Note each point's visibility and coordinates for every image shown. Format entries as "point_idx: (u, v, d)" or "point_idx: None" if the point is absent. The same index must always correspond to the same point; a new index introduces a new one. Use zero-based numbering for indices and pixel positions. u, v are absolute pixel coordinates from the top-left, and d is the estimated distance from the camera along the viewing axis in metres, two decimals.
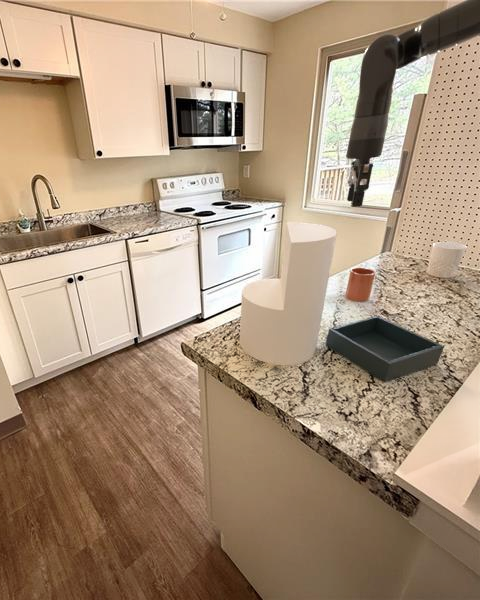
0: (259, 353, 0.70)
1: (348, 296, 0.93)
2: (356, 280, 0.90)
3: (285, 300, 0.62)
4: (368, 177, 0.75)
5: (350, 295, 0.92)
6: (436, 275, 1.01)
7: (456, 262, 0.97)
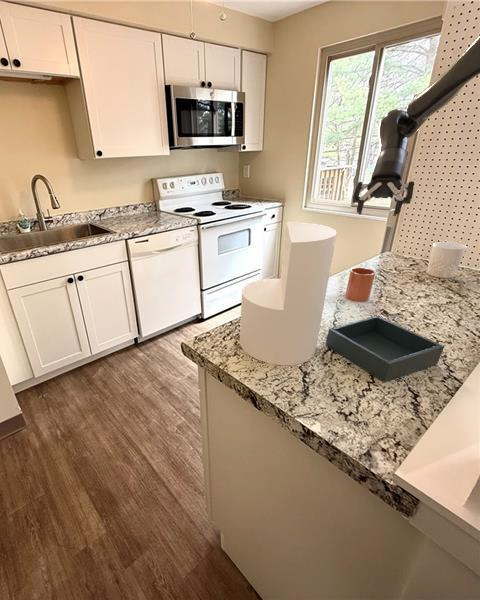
0: (259, 353, 0.70)
1: (348, 296, 0.93)
2: (356, 280, 0.90)
3: (285, 300, 0.62)
4: (355, 191, 0.96)
5: (350, 295, 0.92)
6: (436, 275, 1.01)
7: (456, 262, 0.97)
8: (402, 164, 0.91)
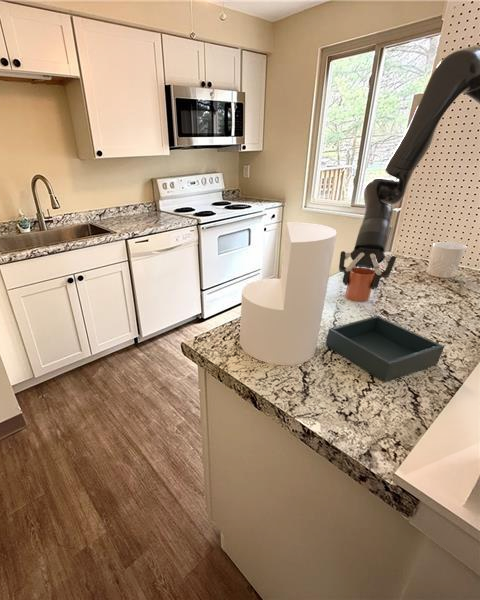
0: (259, 353, 0.70)
1: (348, 296, 0.93)
2: (356, 280, 0.90)
3: (285, 300, 0.62)
4: None
5: (350, 295, 0.92)
6: (436, 275, 1.01)
7: (456, 262, 0.97)
8: (385, 235, 0.90)
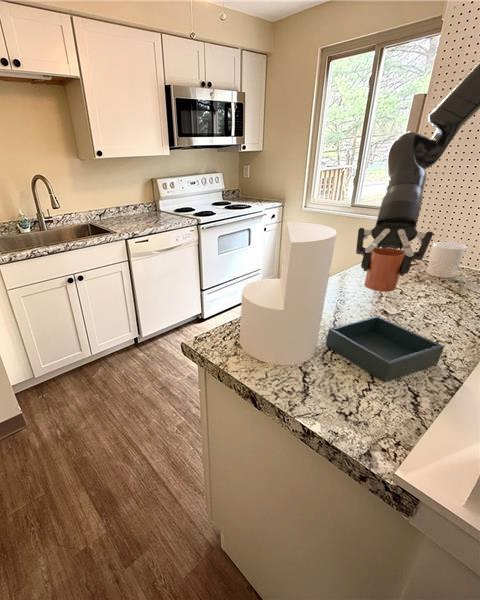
0: (259, 353, 0.70)
1: (368, 285, 0.73)
2: (380, 263, 0.69)
3: (285, 300, 0.62)
4: (357, 240, 0.75)
5: (371, 284, 0.72)
6: (436, 275, 1.01)
7: (456, 262, 0.97)
8: (418, 205, 0.70)
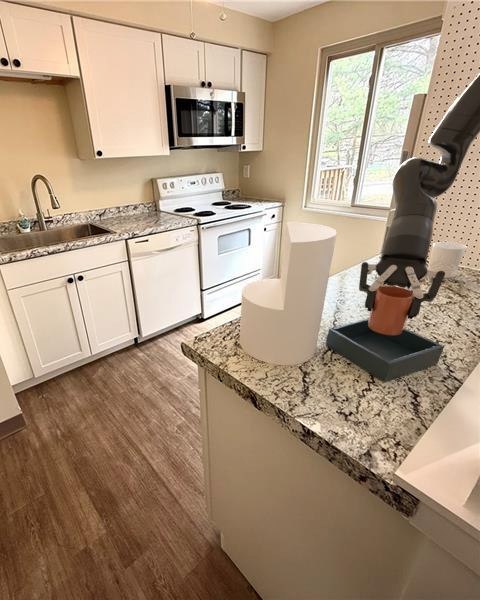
0: (259, 353, 0.70)
1: (372, 327, 0.66)
2: (386, 305, 0.62)
3: (285, 300, 0.62)
4: (360, 275, 0.68)
5: (376, 326, 0.65)
6: None
7: (456, 262, 0.97)
8: (428, 240, 0.63)
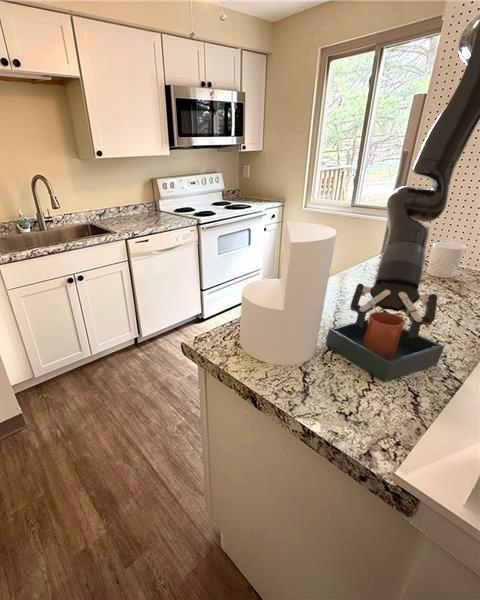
0: (259, 353, 0.70)
1: None
2: (378, 332, 0.65)
3: (285, 300, 0.62)
4: (353, 296, 0.70)
5: None
6: (436, 275, 1.01)
7: (456, 262, 0.97)
8: (420, 266, 0.65)
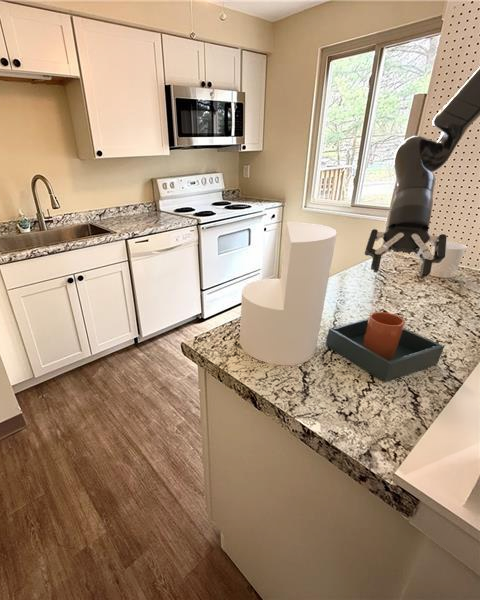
0: (259, 353, 0.70)
1: None
2: (378, 332, 0.65)
3: (285, 300, 0.62)
4: (368, 241, 0.75)
5: None
6: (436, 275, 1.01)
7: (456, 262, 0.97)
8: (430, 210, 0.70)
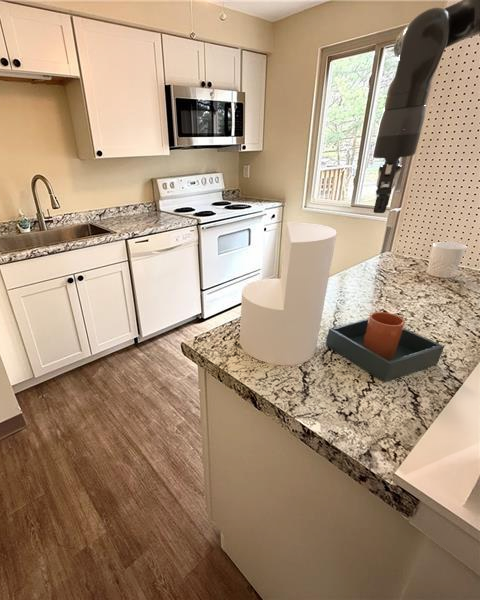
0: (259, 353, 0.70)
1: None
2: (378, 332, 0.65)
3: (285, 300, 0.62)
4: (390, 180, 0.65)
5: None
6: (436, 275, 1.01)
7: (456, 262, 0.97)
8: None
